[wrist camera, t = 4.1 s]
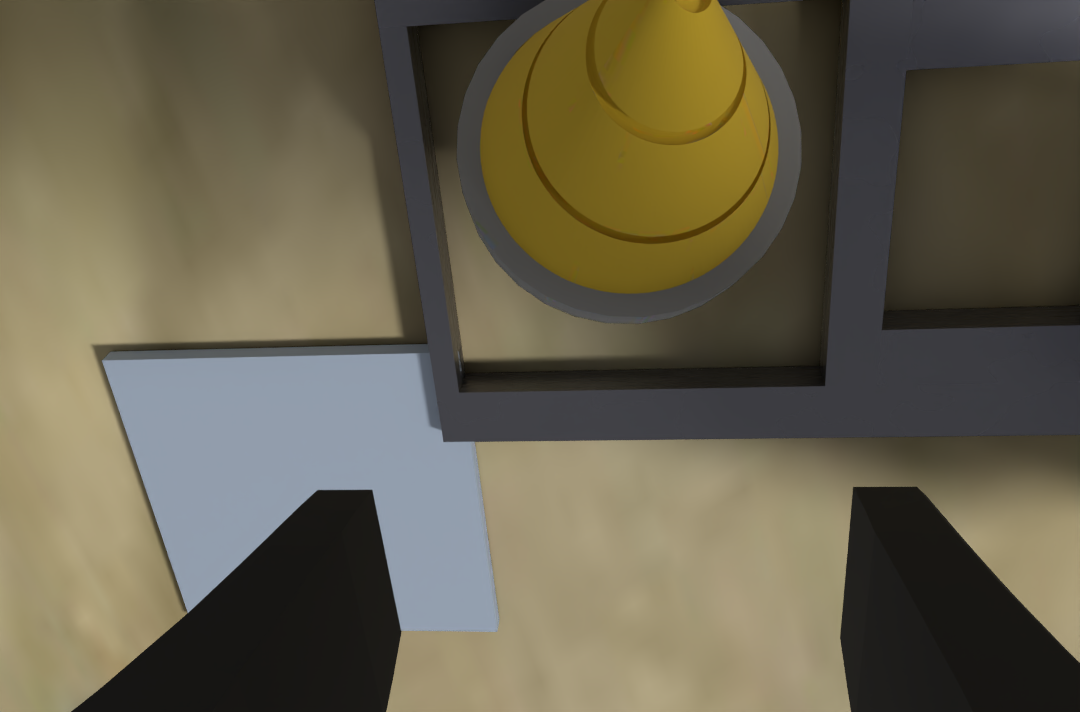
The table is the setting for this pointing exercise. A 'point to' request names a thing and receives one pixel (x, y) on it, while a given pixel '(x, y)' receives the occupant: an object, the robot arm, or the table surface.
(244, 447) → the mat
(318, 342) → the table surface
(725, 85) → the yellow cone
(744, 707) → the table surface
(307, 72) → the table surface
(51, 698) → the table surface
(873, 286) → the rectangular frame
